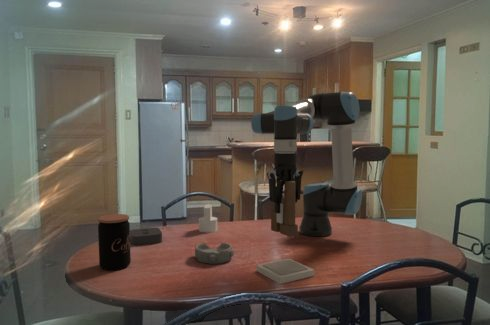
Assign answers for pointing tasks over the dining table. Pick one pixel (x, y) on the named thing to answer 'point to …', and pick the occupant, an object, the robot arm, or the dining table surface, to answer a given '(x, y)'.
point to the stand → (285, 270)
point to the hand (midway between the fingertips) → (285, 221)
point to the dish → (213, 253)
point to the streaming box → (145, 236)
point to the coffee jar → (114, 242)
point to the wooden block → (286, 212)
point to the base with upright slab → (208, 221)
